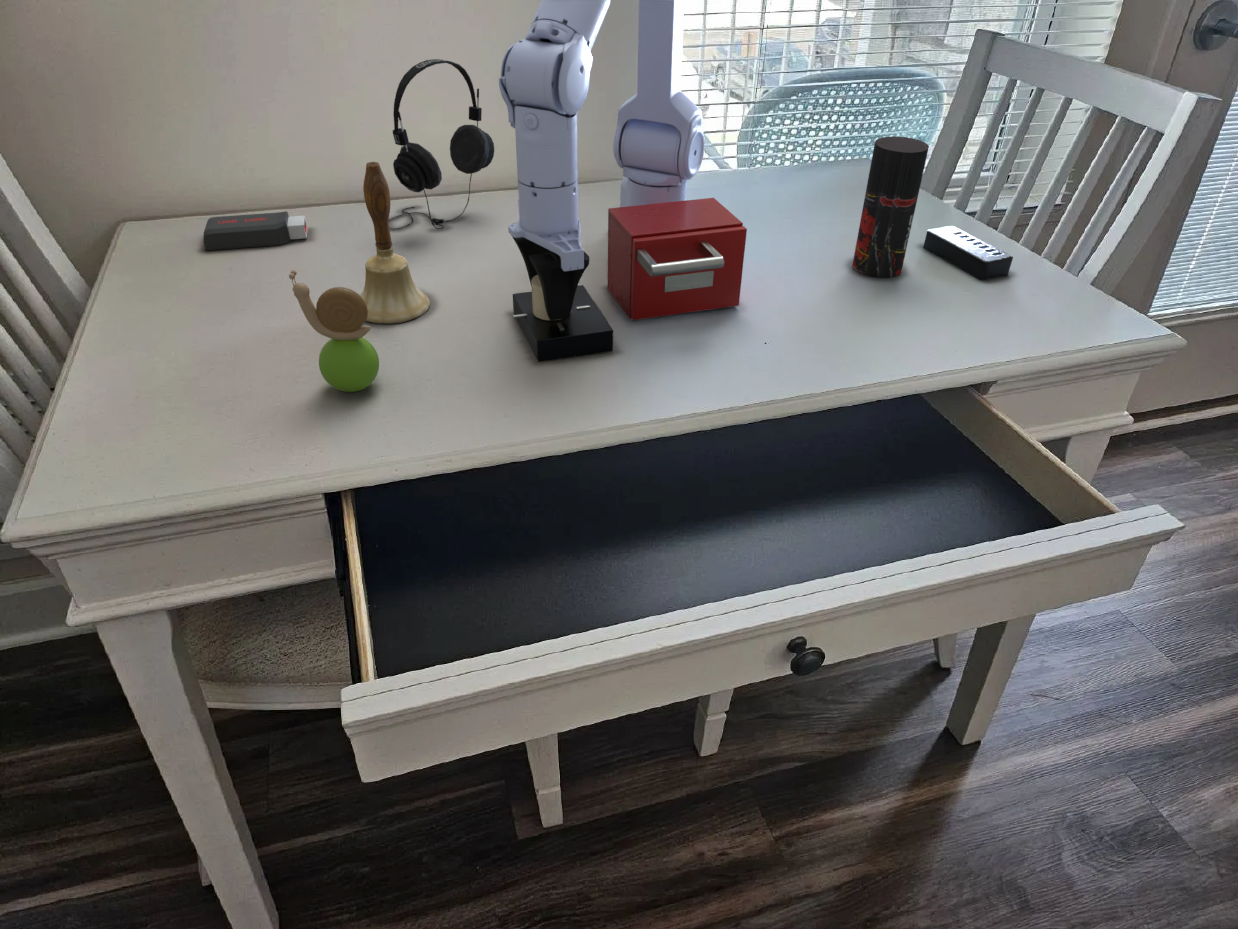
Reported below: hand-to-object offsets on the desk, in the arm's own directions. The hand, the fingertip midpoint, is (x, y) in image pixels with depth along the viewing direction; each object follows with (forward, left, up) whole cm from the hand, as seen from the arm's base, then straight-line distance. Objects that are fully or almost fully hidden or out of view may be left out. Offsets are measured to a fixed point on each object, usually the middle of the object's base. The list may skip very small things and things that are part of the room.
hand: (551, 307), depth 93 cm
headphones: (-36, -7, -3) cm, 37 cm away
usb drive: (-35, -30, -3) cm, 46 cm away
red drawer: (+2, +15, -3) cm, 16 cm away
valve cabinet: (-5, +15, -3) cm, 16 cm away
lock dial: (0, 0, 0) cm, 0 cm away
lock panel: (0, +1, -3) cm, 3 cm away
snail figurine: (+5, -22, -3) cm, 22 cm away
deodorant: (-5, +42, -3) cm, 43 cm away
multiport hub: (-4, +54, -3) cm, 55 cm away
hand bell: (-11, -16, -3) cm, 19 cm away
